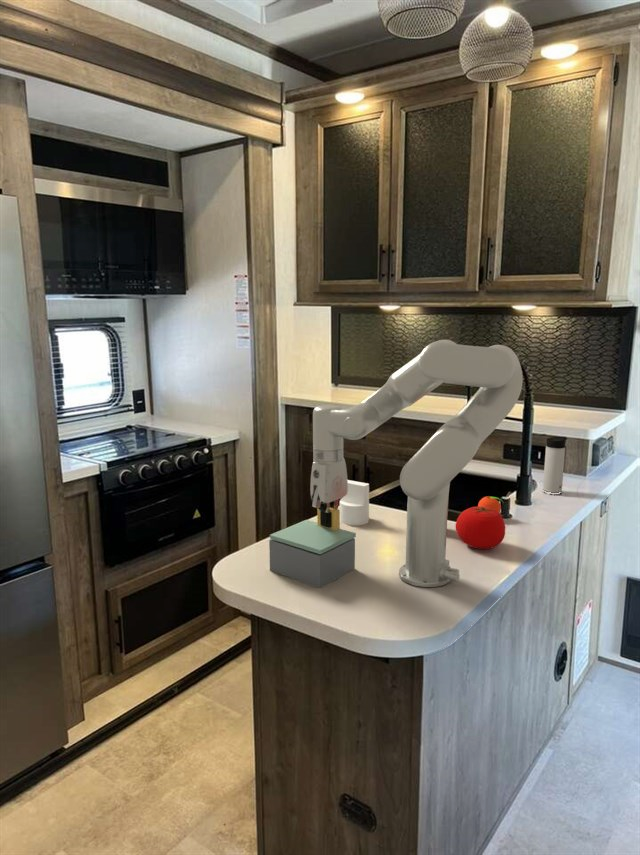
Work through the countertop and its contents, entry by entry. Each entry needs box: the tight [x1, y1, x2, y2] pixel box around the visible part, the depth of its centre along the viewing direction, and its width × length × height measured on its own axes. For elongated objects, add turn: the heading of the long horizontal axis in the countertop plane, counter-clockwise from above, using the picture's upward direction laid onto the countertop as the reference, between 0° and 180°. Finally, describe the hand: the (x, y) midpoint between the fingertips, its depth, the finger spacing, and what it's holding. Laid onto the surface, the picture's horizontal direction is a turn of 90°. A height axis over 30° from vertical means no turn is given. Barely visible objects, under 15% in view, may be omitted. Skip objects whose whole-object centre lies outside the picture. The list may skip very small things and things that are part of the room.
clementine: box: [477, 495, 504, 514], centre depth 192 cm, size 8×7×7 cm
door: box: [269, 508, 357, 554], centre depth 153 cm, size 16×14×7 cm
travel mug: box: [542, 436, 568, 493], centre depth 216 cm, size 6×7×20 cm
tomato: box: [455, 506, 506, 550], centre depth 169 cm, size 12×13×11 cm
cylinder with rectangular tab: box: [339, 479, 370, 526], centre depth 189 cm, size 9×9×12 cm
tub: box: [268, 537, 356, 589], centre depth 154 cm, size 16×14×8 cm
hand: (328, 524), depth 158 cm, fingers closed on door, 1 cm apart
